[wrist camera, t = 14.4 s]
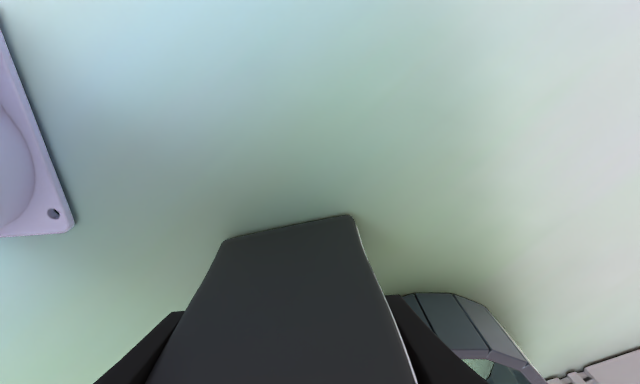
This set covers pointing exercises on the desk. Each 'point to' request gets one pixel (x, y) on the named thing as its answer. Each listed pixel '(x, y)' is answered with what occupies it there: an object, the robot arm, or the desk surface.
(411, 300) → the gray segmented ring
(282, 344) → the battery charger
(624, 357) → the power supply unit
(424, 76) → the desk surface
